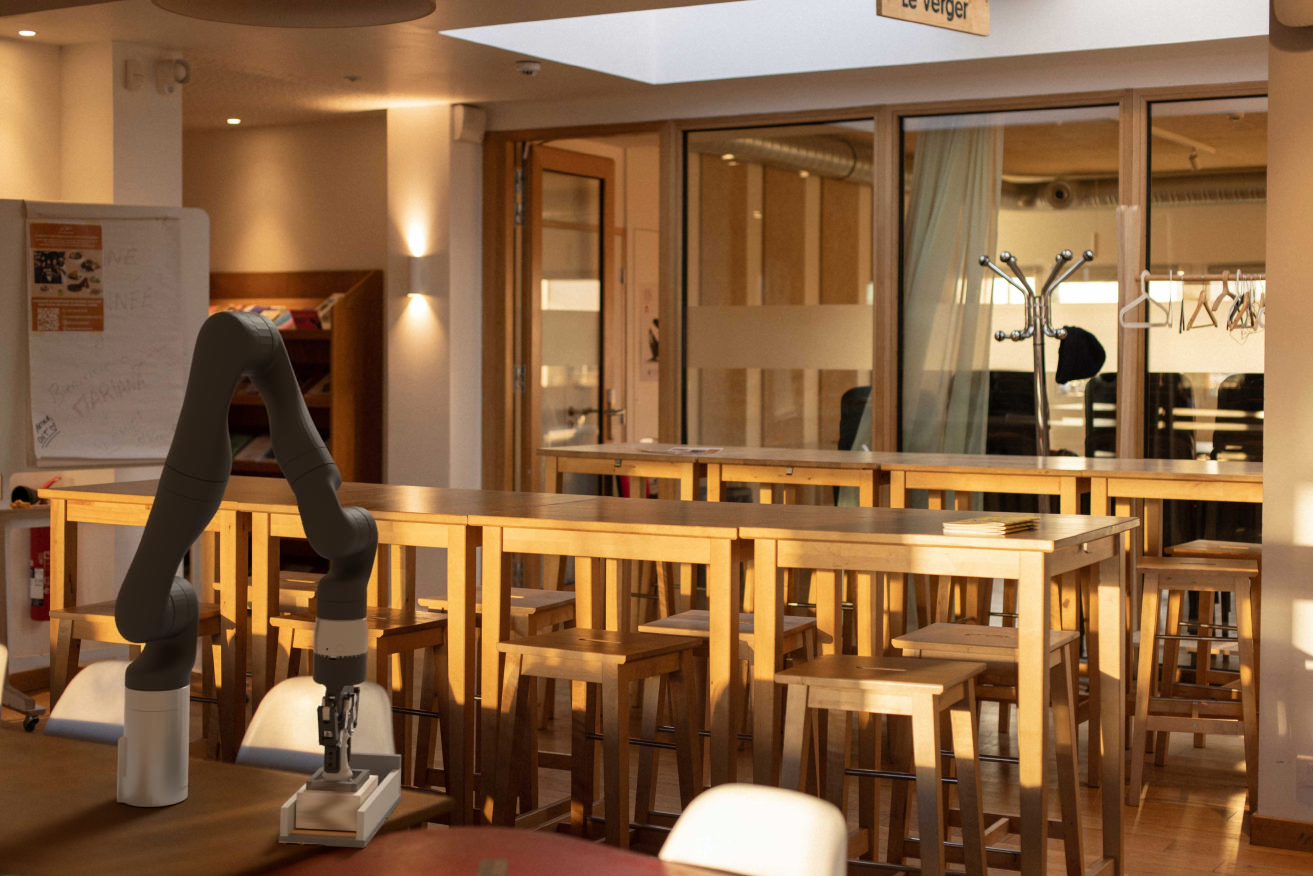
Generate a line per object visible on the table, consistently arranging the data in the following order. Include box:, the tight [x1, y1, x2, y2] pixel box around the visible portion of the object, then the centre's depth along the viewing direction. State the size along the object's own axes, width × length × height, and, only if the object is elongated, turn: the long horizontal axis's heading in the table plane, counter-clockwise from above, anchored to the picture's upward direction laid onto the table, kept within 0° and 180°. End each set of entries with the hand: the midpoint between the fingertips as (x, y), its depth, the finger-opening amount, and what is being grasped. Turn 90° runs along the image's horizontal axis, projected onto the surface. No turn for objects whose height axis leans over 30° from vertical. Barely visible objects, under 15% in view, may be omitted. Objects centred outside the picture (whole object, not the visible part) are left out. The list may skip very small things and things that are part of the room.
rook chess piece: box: [322, 729, 353, 782], centre depth 203 cm, size 4×4×8 cm
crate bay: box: [278, 751, 402, 849], centre depth 207 cm, size 12×22×7 cm, turn 177°
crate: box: [296, 766, 378, 831], centre depth 204 cm, size 9×10×6 cm
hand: (337, 766), depth 203 cm, fingers open, 4 cm apart
